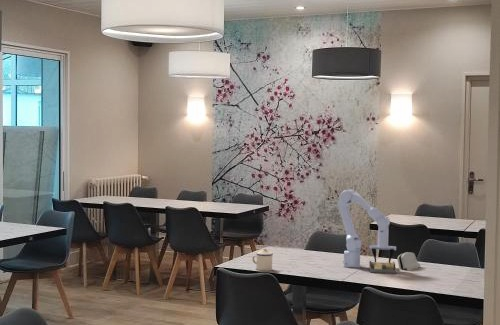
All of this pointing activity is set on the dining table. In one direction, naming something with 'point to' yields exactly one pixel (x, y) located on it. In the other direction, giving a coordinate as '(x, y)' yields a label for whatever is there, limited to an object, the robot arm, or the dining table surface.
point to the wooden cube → (377, 266)
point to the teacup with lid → (263, 260)
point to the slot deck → (379, 263)
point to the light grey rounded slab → (407, 261)
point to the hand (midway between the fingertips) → (382, 262)
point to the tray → (382, 270)
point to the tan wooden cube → (389, 266)
